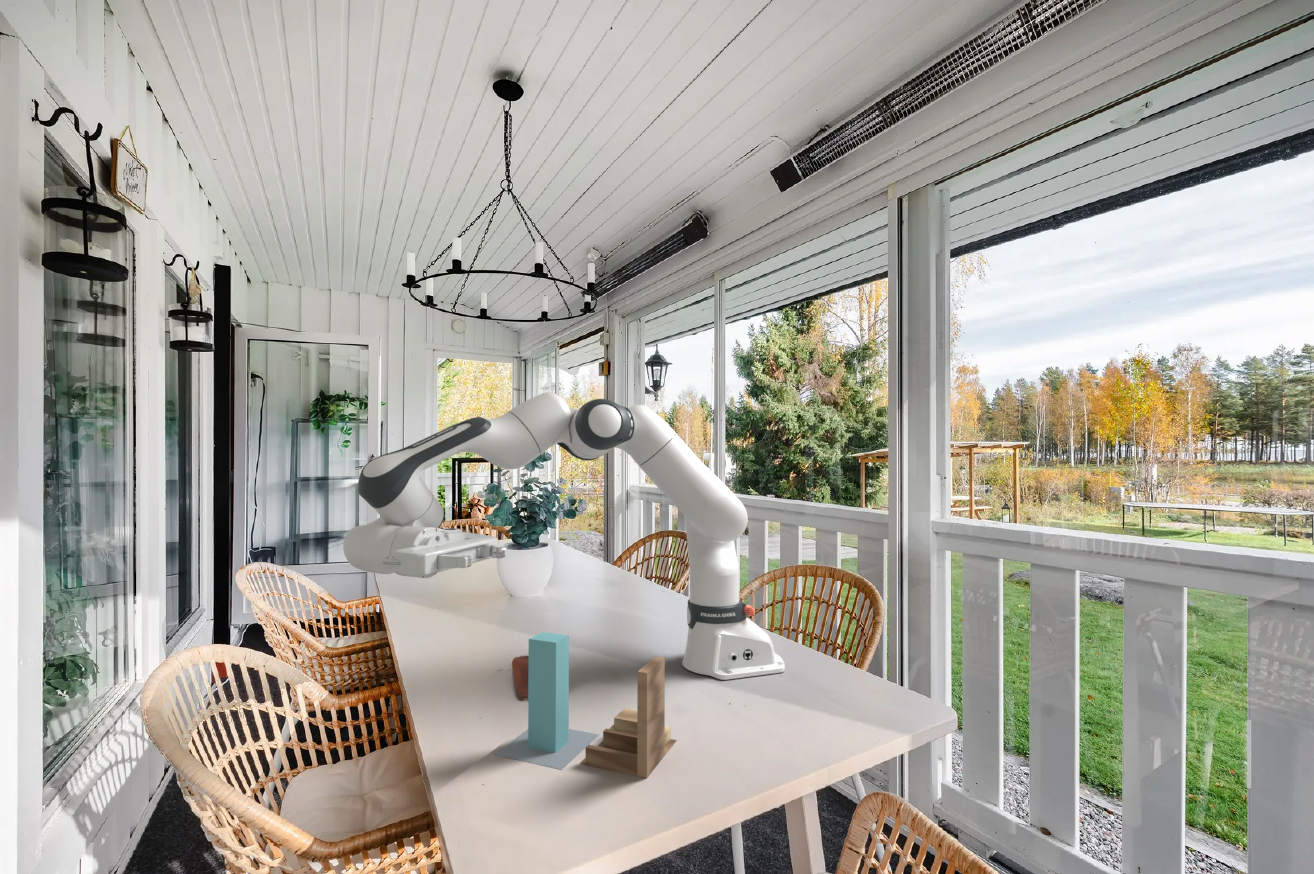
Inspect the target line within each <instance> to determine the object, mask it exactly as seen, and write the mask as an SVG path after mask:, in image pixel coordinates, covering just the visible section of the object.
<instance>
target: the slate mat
mask: <svg viewBox="0 0 1314 874" xmlns="http://www.w3.org/2000/svg"><path fill="white" fill-rule="evenodd" d="M599 736H600V734H598V733H592V732H587V731H583V730H577V729H571V728H569V741H568V742H567V743H566V744H565V745H564V746H563V747H562V748H560V749H559V750H558V751H557V752H556V753H555V752H550V751H545V750H540V749H536V748H531V747H528V729H526V730H525V731H523V732H521V734H520V735H518V736H517V737H516V738H514V739H513V740H511V741H510V742H509V743H507V744H506V745H504V746H503V747H502V748H500V749H499V750H498V751H497V752H495V753H494V754H493V755H494V756H498V757H502V758H507V759H512V760H516V761H520V762H525V763H530V764H533V765H538V766H543V767H547V768H552V769H556V770H559V771H563V769H564V768H566V767H567V766H568V765H569V764H570V763H571V762H572V761H573V760H574V759H575V758H576V757H577V756H578V755H579V754H580V753H581V752H583V750H586V747H587V746H588V745H591V743H592V742H594V740H595V739H596V738H598V737H599Z"/></svg>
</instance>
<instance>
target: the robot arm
mask: <svg viewBox="0 0 1314 874" xmlns="http://www.w3.org/2000/svg"><path fill="white" fill-rule="evenodd" d="M555 445H558V446H559V447H561V448H562V449H563V450H565V451H566V452H567V453H569V454H570V455H571V456H573V457H574V458H576V459H578V460H580V461H593V460H598V459H599V458H601V457H603V456H605V455H607V454H608V453H609V452H611V451H612V450H613V449H614V448H616V449H619V450H622V451H623V452H625V453H626V454H628V455H629V456H630V458H632V460H633V461H634V462H635V463H636V464H637V465H638V467H639V469H641V470H642V471H643V473H644V474H645V475H646V476H647V477H648V478H649V480H651V482H652V483H653V484H654V485H655V486H656V487H657V489H658V490H659V491H660V492H661V493H662V494H663V495H664V496H665V497H666V498H668V500H669V501H670V502H671V503H672V504H673V505H674V506H675V507H676V508H677V510H679V511H680V513H682V514H683V516H684V518H685V519H684V520H685V531H686V532H685V533H686V543H687V545H686V546H687V553H688V561H689V564H688V565H689V598H688V600H687V606H686V623H687V626H688V628H687V629H688V632H687V638H686V639H687V641H686V646H685V650H684V655H683V658H682V662H681V665H682V667H684V668H685V669H686V670H688V671H689V672H692V673H696V674H700V675H705V676H710V677H713V678H715V679H718V680H722V681H725V680H733V679H740V678H742V679H743V678H748V677H756V676H763V675H771V674H772V675H773V674H779V673H783V672H784V671H786V665H785V661H784V660H783V658H782V657H781V656H780V655H779V654H778V653H776V652H775V648H774V644H773V641H772V639H771V637H770V635H769V634H768V633H767V632H766V631H765V630H763V628H761V627H760V626H759V625H758V624H756V623H755V622H754V621H752V619H750V618H748V616H749V617H751V616H753V615H754V614H755V608H753V606H751V605H750V604H747V603H746V602H744V601H743V600H740V565H739V561H738V556H737V551H736V545H735V543H736V542H735V541H736V540H737V539H738V538H741V536H742V535H743V534H744V532H745V531H746V530H747V526H748V523H749V521H748V520H749V516H748V512H747V509H746V506H745V505H744V503H743V502H742V501H741V500H740V499H739V498H738V497H737V495H735V494H734V492H732V490H731V489H730V488H729V487H728V486H727V485H726V484H725V483H724V482H723V481H722V480H721V479H720V478H719V477H718V476H717V475H716V474H715V473H714V472H713V471H712V470H711V469H710V468H709V467H708V466H707V465H706V464H704V462H703V461H702V460H701V459H700V458H699V457H698V456H697V455H696V454H695V453H694V452H693V450H692V449H691V448H690V447H689V446H688V445H687V444H686V442H685V441H684V440H683V439H682V438H681V436H679V434H678V433H676V431H675V430H674V429H673V427H671V425H670V424H669V423H667V421H665V420H664V419H663V418H662V417H661V416H660V415H658V414H657V413H656V412H655V410H653V409H651V408H650V407H648V406H647V405H645V404H636V405H632V406H630V407H626V406H623V405H621V404H618V403H617V402H614V401H612V400H610V399H606V398H595V399H591V400H589V401H587V402H585V403H583V405H582V406H580V408H578V409H577V408H573V407H571V405H568V403H567V402H566V401H565V399H563V397H561V396H560V395H558V394H557V393H555V392H549V391H548V392H543V393H541V394H538V395H535V396H534V397H531V398H529V399H527V400H525V401H524V402H522V403H519V404H518V405H517V406H514V407H513V408H511V409H510V410H508V411H506V412H505V413H504V414H502V415H500V416H497V417H494V418H490V419H486V418H484V417H481V416H476V417H471V418H467V419H465V420H462V421H460V422H458V423H454V424H452V425H450V426H448V427H446V428H444V429H442V430H439V431H437V432H436V433H433V434H431V435H429V436H427V437H425V438H423V439H421V440H418V441H416V442H414V443H412V444H410V445H407V446H406V447H403V448H400V449H397V450H395V451H391V452H388V453H384V454H382V455H379V456H376V457H375V458H373V459H372V460H370V461H369V462H367V463H366V464H365V465H364V466H363V468H362V469H361V471H360V474H359V478H358V484H357V492H358V495H359V496H360V497H361V498H362V499H363V500H364V502H366V503H367V504H369V506H371V507H372V508H373V509H374V510H375V511H376V512H377V514H378V515H379V516H380V517H378V518H377V519H375V520H373V521H371V522H370V523H367V524H363V525H357V526H354V527H352V528H350V529H349V530H348V531H347V532H346V534H345V536H344V539H343V543H342V545H343V549H342V550H343V554H344V557H345V559H346V560H347V562H348V563H349V564H350V565H351V566H352V567H353V568H355V569H358V570H361V571H364V572H368V573H373V574H379V575H390V574H391V575H392V574H396V575H397V576H401V577H409V578H419V579H430V578H432V577H435V575H436V574H438V573H440V572H444V571H449V570H452V569H466V568H469V567H472V564H475V563H478V562H482V561H486V560H490V559H503V558H506V557H507V547H506V546H499V540H498V538H497V537H495V536H492V535H486V534H481V533H473V532H462V529H460V528H441V527H442V524H443V522H444V519H445V509H444V508H443V507H442V505H441V503H440V501H438V499H437V497H435V495H434V494H433V492H432V491H431V490H430V489H429V487H428V486H427V485H426V483H425V481H424V480H423V479H422V477H421V476H420V475H421V473H422V472H423V471H425V470H427V469H429V468H431V467H432V466H434V465H437V464H439V463H440V462H443V461H445V460H447V459H449V458H451V457H453V456H454V455H458V454H460V453H473V454H475V455H478V456H479V457H481V458H482V459H484V460H486V461H487V462H489V463H490V464H492V465H493V466H495V467H498V468H501V469H505V470H516V469H517V470H519V469H520V468H523V467H525V466H527V465H529V463H531V462H532V461H534V460H536V459H537V458H538V457H540V455H542V454H543V453H545V452H546V451H547V450H548V449H550V448H551V447H553V446H555Z"/></svg>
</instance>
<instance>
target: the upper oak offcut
mask: <svg viewBox="0 0 1314 874" xmlns="http://www.w3.org/2000/svg"><path fill="white" fill-rule="evenodd" d="M613 725H614V730H616V731H621V732H627V733H632V734H637V709H631V708H626V707H624V708H623V709H622V710H621V711H620V712H619V713H618V714H617V715H616V716H614V718H613Z"/></svg>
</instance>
